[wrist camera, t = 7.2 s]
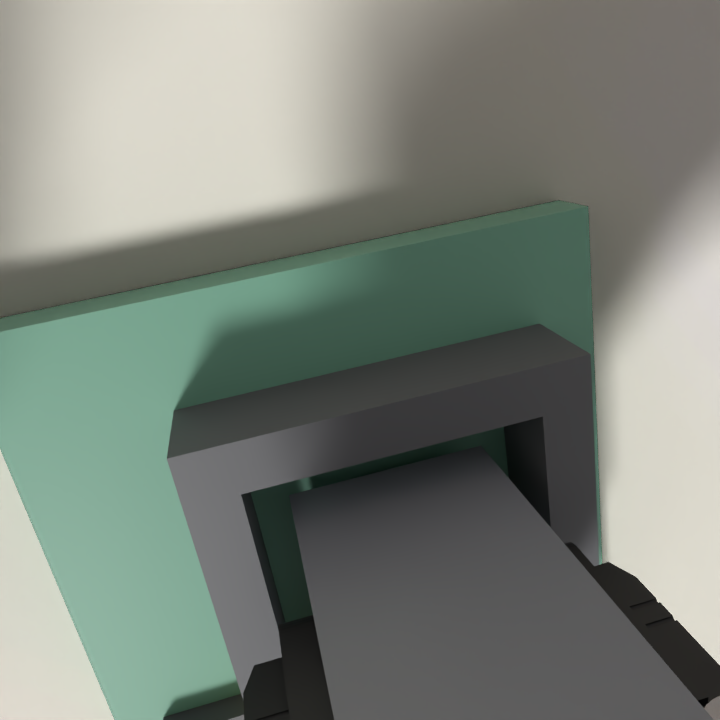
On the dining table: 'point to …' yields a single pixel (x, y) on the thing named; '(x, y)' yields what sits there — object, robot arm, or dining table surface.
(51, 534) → the board
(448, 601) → the plug
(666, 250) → the dining table surface
